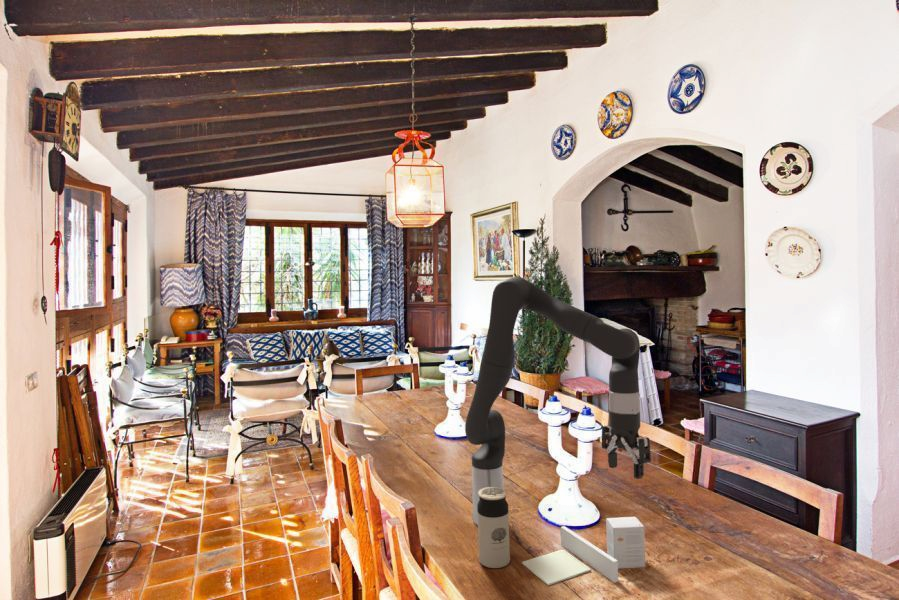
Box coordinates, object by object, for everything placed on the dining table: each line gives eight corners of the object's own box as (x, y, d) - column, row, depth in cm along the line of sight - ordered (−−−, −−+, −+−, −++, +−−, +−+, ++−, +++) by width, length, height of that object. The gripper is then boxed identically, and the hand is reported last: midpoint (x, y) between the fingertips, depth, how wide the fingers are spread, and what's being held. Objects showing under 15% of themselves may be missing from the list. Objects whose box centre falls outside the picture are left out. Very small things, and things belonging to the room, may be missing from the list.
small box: (636, 556, 134) (636, 516, 134) (645, 567, 128) (645, 526, 128) (606, 557, 134) (605, 517, 133) (614, 569, 128) (613, 527, 128)
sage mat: (521, 563, 132) (521, 561, 132) (562, 550, 138) (562, 549, 137) (548, 585, 122) (548, 584, 122) (591, 570, 128) (590, 569, 128)
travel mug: (477, 553, 137) (475, 487, 137) (506, 551, 138) (504, 485, 137) (481, 570, 129) (479, 499, 129) (512, 568, 130) (510, 497, 129)
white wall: (561, 545, 140) (560, 527, 140) (564, 544, 141) (564, 526, 141) (614, 582, 122) (613, 561, 122) (618, 581, 123) (617, 560, 123)
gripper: (593, 405, 134) (594, 466, 135) (634, 417, 121) (635, 485, 122) (615, 401, 138) (616, 461, 138) (657, 412, 125) (658, 479, 125)
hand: (625, 472), depth 130 cm, fingers open, 8 cm apart
